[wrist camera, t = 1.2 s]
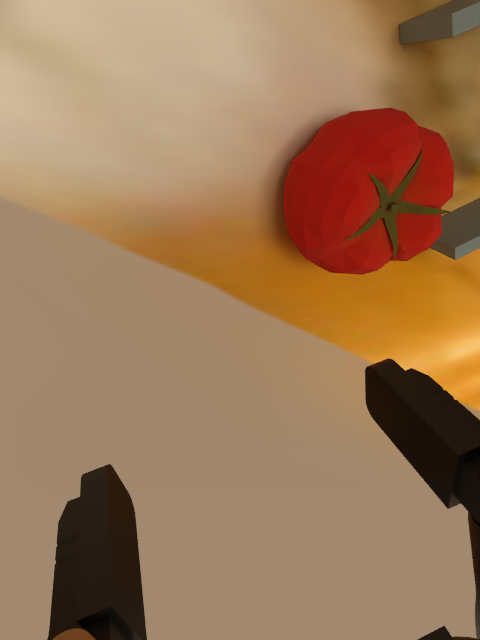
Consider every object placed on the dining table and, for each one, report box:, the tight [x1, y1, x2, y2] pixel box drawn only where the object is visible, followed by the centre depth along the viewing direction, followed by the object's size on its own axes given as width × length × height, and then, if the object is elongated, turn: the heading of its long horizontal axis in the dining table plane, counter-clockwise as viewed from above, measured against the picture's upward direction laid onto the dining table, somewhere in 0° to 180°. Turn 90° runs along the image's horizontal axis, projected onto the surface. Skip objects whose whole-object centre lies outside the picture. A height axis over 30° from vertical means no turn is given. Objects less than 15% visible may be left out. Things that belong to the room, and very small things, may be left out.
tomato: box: [283, 108, 454, 275], centre depth 28 cm, size 11×12×9 cm
